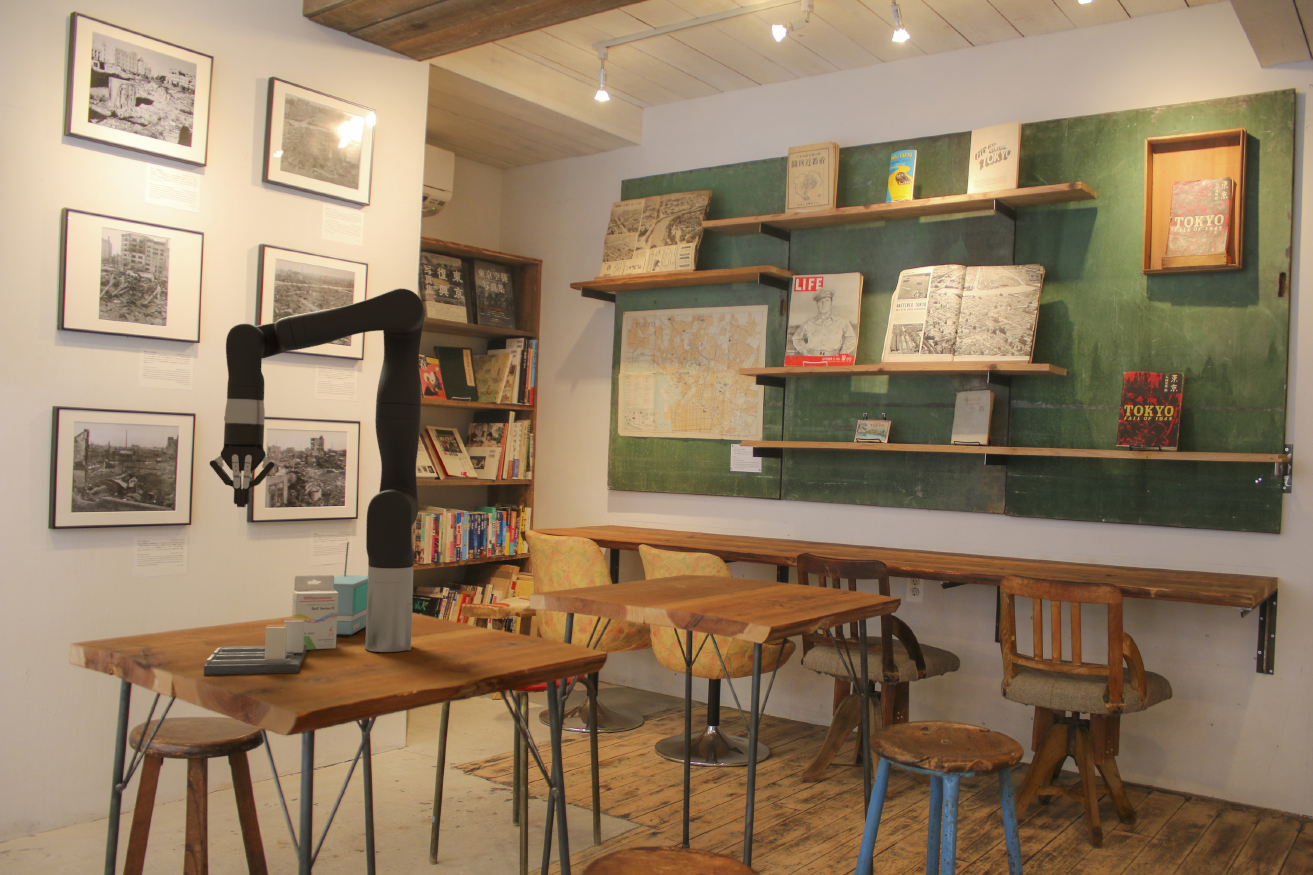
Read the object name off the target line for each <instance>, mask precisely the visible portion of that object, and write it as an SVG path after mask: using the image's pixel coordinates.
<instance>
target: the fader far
mask: <svg viewBox="0 0 1313 875" xmlns="http://www.w3.org/2000/svg"><path fill="white" fill-rule="evenodd" d="M304 620H305V619H292V618H284V620H283V625H287V649H286V652H294V653H302V651H303V645H304Z"/></svg>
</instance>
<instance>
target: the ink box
mask: <svg viewBox="0 0 1313 875" xmlns="http://www.w3.org/2000/svg"><path fill="white" fill-rule="evenodd" d="M334 578H335V576H334V575H333V574H332V575H330V574H329V575H327V574H326V575H319V574H317V575H295V577H294V588H293V589H294V590H293V592H292V606H291V608H292V610H291V619H305V620H304V645H306V651H307V650H324V649H325V650H327V649H336V648H337V636H336V633H337V615H338V592H337V591H335V590H334V589H333V588H334ZM314 580H316V582H321V584H319V583H308V582H312V581H314Z"/></svg>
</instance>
